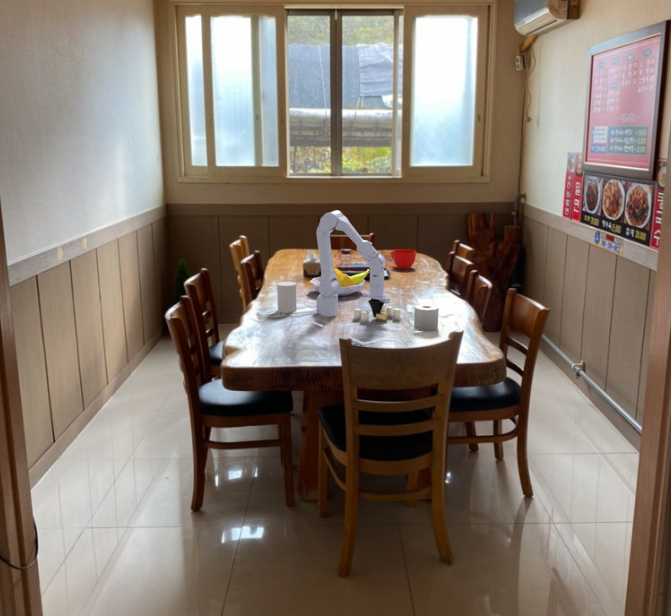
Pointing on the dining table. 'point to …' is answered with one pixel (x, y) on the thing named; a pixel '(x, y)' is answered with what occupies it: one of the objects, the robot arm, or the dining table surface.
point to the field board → (373, 320)
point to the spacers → (389, 310)
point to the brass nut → (381, 316)
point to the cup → (286, 297)
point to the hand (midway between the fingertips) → (376, 316)
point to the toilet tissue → (426, 317)
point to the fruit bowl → (344, 282)
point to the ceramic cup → (403, 258)
